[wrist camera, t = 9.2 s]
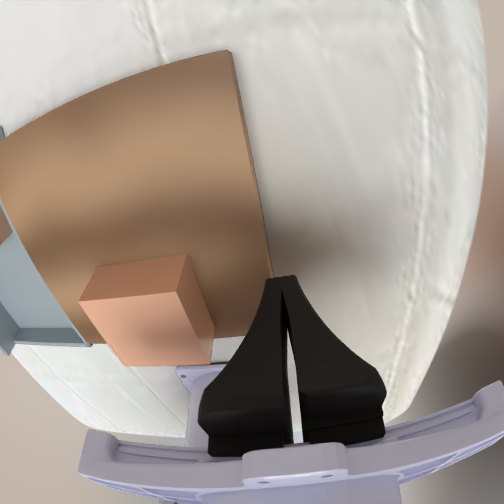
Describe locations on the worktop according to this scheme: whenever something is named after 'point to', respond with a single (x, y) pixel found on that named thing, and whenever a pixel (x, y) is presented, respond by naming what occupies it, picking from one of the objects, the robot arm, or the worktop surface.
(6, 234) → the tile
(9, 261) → the tray
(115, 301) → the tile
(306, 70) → the worktop surface
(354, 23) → the worktop surface
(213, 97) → the board
